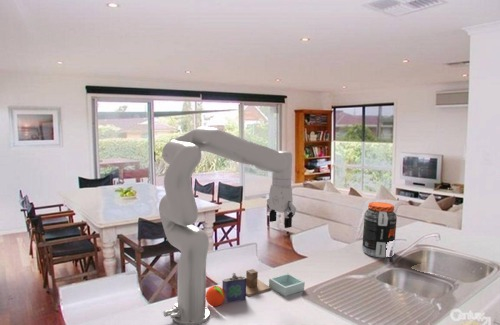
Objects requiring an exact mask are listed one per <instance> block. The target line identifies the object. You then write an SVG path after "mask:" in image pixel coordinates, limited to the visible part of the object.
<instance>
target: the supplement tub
mask: <svg viewBox="0 0 500 325" xmlns="http://www.w3.org/2000/svg"><path fill="white" fill-rule="evenodd" d="M367 207H368V208H367V209H366V210H365V213H364V215H363V216H364V218H363V232H362V245H361V247H362V248H361V249H362V251H363V253H365V254H366V255H369V256H371V257H374V258H381V259H383V258H384V259H385V258H387V257H386V250H387V248H386V244H387V242H389V241H393V240H395V241H396V230H397V220H398V219H397V214H396V213H395V212H394V211H395V206H394V205H393V204H392V203H388V202H380V201H371V202H369V203H368V206H367Z"/></svg>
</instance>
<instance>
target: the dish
mask: <svg viewBox="0 0 500 325" xmlns="http://www.w3.org/2000/svg"><path fill="white" fill-rule="evenodd" d="M268 279H269V281H268V286H269V287H271V290H273V291H276V292H277V293H279V295H282V296H283V297H288V296H291V295H294V294H296V293H300V292H304V291H305V281H303V280H301V279H300V278H298V277H296V276H294V275H292V274H291V273H284V274H280V275H277V276H273V277H269V278H268Z"/></svg>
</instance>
